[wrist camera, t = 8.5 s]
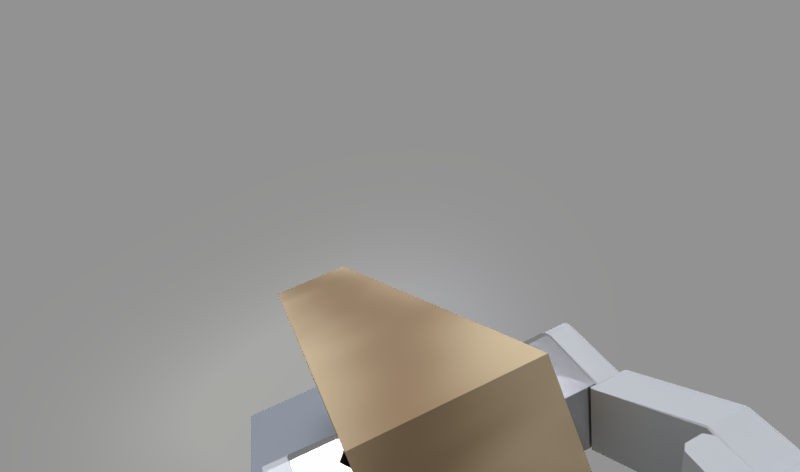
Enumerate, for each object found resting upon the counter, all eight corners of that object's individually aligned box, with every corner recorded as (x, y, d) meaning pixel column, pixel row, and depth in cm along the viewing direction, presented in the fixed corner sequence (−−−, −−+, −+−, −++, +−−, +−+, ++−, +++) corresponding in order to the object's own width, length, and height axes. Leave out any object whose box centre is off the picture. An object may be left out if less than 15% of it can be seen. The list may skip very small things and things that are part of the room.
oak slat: (417, 628, 9) (344, 452, 9) (301, 348, 31) (278, 293, 30) (609, 520, 10) (548, 353, 10) (365, 320, 31) (343, 266, 31)
